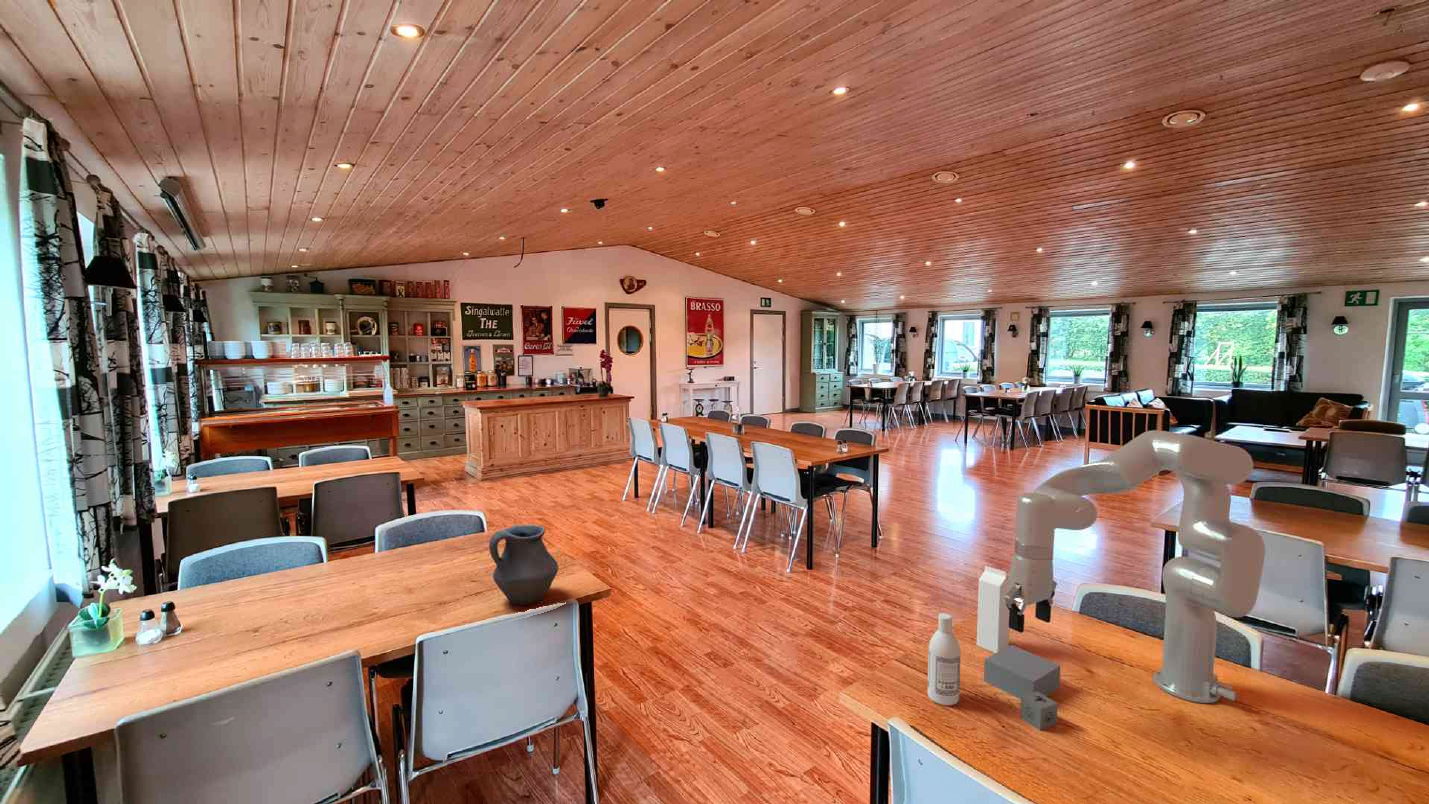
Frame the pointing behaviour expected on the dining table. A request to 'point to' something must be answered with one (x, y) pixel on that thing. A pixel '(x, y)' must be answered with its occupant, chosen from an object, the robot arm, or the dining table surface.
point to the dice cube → (1038, 710)
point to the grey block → (1021, 672)
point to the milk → (993, 611)
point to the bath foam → (944, 664)
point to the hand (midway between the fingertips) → (1029, 625)
